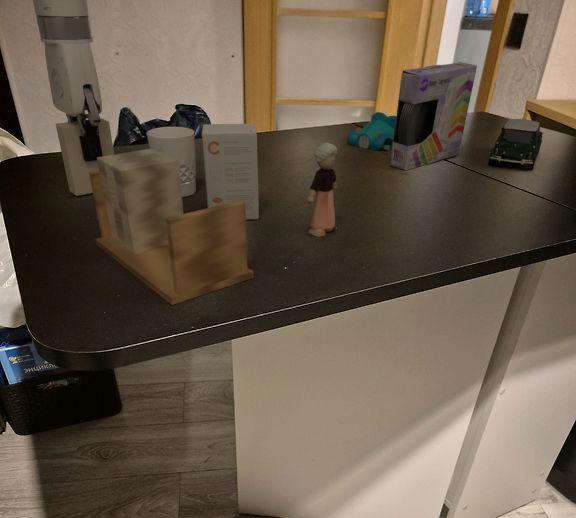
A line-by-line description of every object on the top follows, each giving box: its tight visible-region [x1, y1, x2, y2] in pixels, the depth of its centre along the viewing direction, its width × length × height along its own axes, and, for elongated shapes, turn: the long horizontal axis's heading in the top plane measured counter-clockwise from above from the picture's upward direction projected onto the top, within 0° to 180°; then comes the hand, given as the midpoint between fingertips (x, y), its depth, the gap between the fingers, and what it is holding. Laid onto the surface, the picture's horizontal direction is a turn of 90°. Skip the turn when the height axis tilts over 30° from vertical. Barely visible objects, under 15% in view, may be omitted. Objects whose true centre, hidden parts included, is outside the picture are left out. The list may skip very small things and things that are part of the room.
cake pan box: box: [389, 61, 478, 171], centre depth 110 cm, size 19×5×18 cm, turn 129°
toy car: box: [346, 111, 396, 152], centre depth 126 cm, size 11×18×7 cm, turn 137°
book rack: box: [89, 148, 255, 306], centre depth 70 cm, size 12×22×12 cm, turn 39°
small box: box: [201, 123, 260, 221], centre depth 84 cm, size 8×6×13 cm
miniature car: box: [487, 118, 544, 171], centre depth 115 cm, size 9×18×8 cm, turn 155°
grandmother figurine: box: [306, 142, 338, 238], centre depth 79 cm, size 8×4×13 cm, turn 158°
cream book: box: [55, 117, 115, 197], centre depth 93 cm, size 8×3×11 cm, turn 129°
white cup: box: [146, 126, 197, 198], centre depth 94 cm, size 8×8×10 cm
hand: (88, 156), depth 93 cm, fingers closed on cream book, 3 cm apart
